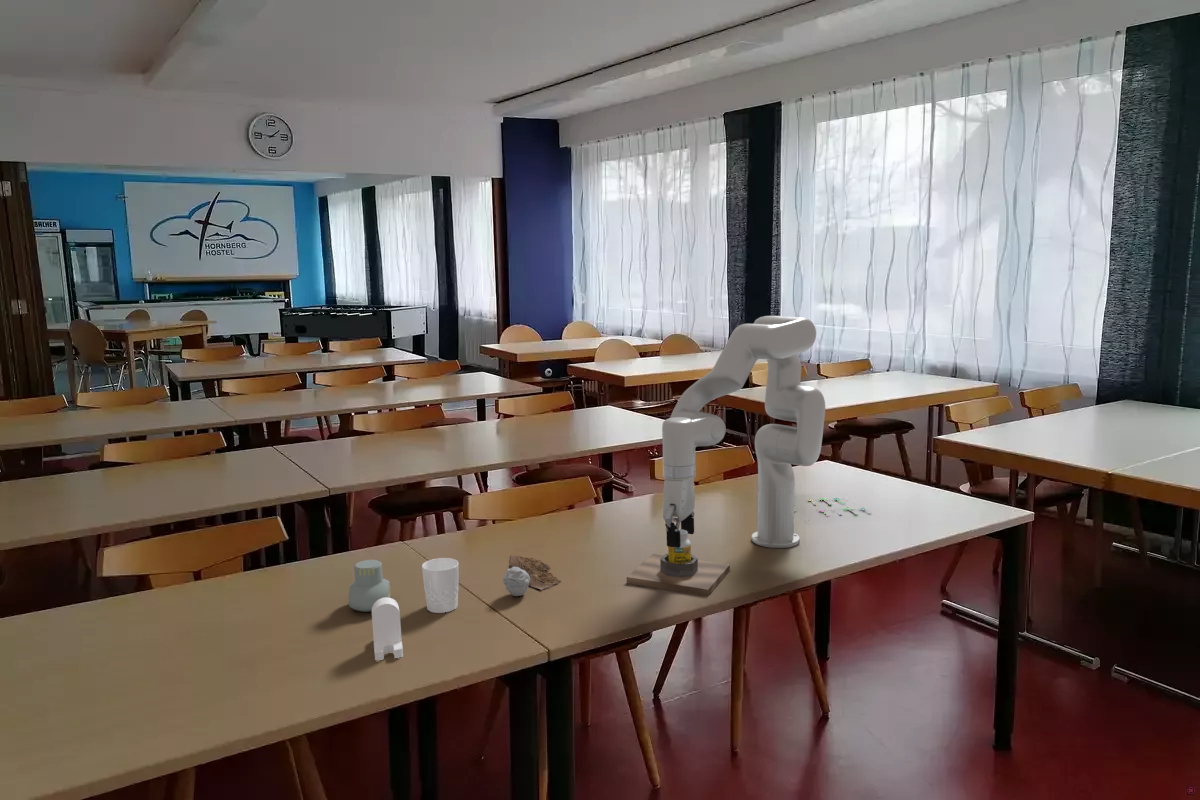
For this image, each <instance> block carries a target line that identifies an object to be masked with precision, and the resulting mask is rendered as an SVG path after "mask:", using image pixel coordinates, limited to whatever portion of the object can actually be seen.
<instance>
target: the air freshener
mask: <svg viewBox="0 0 1200 800" xmlns="http://www.w3.org/2000/svg"><path fill="white" fill-rule="evenodd" d="M382 564H383V562H381V561H380V560H377V559H366V560H362V561H361V560H360V561H359V562H356V564H354V566H353V569H354V582H352V583H350V585H349V589H348V606H349V608H351V609H352V610H355V611H358V612H366V613H369V612H372V607H373V605H374V603H375V602H376V601H377V600H379V599H381V598H384V597H388V598H391V582H390V580H387V579H386V578H383V577H384V576H383V565H382Z"/></svg>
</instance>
